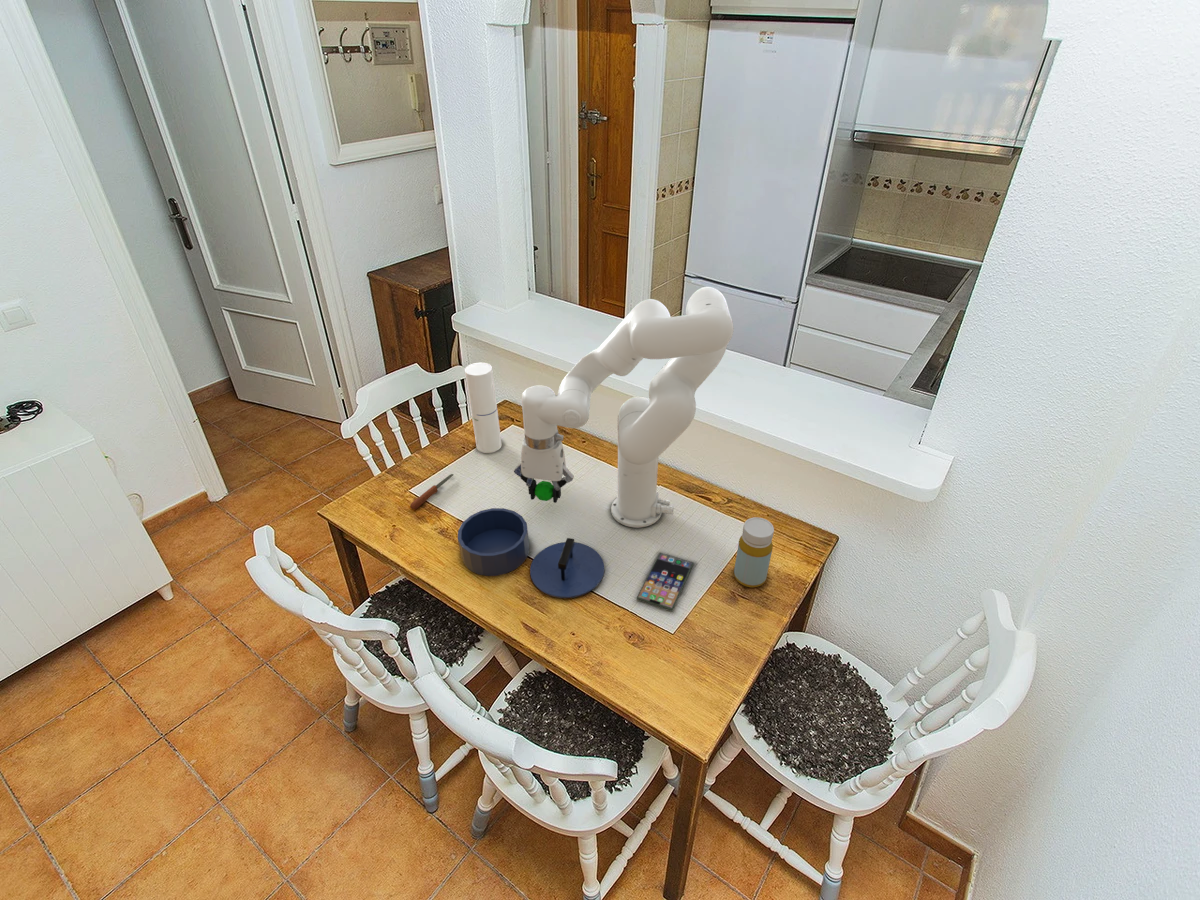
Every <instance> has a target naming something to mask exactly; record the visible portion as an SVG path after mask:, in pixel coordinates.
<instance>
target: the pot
mask: <svg viewBox="0 0 1200 900" xmlns="http://www.w3.org/2000/svg"><path fill="white" fill-rule="evenodd" d="M529 540H530V539H529V530H528V523H527V522H526V520H525V518H524V517H523V515H521V514H520V513H518V512H516V511H515V510H512V509H508V508H503V507H500V508H499V507H493V508H487V509H483V510H479V511H477V512H475V513H473V514H471V515H469V516H468V518H466V519H465V520H463V522H462V523H461V525H460V526H459V529H458V530H457V542H458V548H459V553H460V558H461V560H462V563H463V565H464V566H465V567H466V568H467V569H468V570H469V571H470V572H472V573H475V574H476V575H480V576H485V577H497V576H501V575H505V574H509V573H511V572H513V571H515V570H516V569H518V568H519V567H521V566H522V565H523V564H524V562H525V561H526V560H527V558H528V556H529V553H530V541H529Z"/></svg>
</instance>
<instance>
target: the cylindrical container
mask: <svg viewBox="0 0 1200 900" xmlns="http://www.w3.org/2000/svg"><path fill="white" fill-rule="evenodd" d="M464 374H465V380H466V388H467V395H468V401H469V406H470V414H471V420H472V426H473V432H474V433H473V434H474V440H475V446H476V450H477V451H478V452H480V453H484V454H491V453H496V452H498V451H499V450H500V449H501V448H502V437H501V436H502V435H501V429H500V428H501V427H500V421H499V419H500V418H499V411H498V403H497V397H496V395H497V394H496V388H495V387H496V386H495V380H494V372H493V367H492V365H491V364H490V363H487V362H481V361H479V362H473V363H470V364H468V365H466V366H465V367H464Z"/></svg>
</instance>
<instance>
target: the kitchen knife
mask: <svg viewBox="0 0 1200 900" xmlns="http://www.w3.org/2000/svg"><path fill="white" fill-rule="evenodd" d="M452 477H454V474H453V473H450V474H449V475H447V476H446V477H445V478H443V480H441V481H440V482H438V483H437V484H436V485H435V484H434V485H432V486H431V487H430V488H428V489H427V490H426V491H425V492H423V493H422V494H420V496H418V497H417V498H416V499H415V500H414V501H412V502H411V503H410V504H409V508H410V509H412V510H417V509H419V508H420V507H421V506H422V505H423V504H424V503H425V502H427V500H429V499H430V498H431V497H432V496H434V495H435V494H437V493H438V489H439V488H440V487H443V485H444V484H445V483H447V481H449V480H450V479H451V478H452Z"/></svg>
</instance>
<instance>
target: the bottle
mask: <svg viewBox="0 0 1200 900" xmlns="http://www.w3.org/2000/svg"><path fill="white" fill-rule="evenodd" d="M774 533H775V528H774V525H773V523H772V522H770V520H768V519H765V518H763V517H757V516H756V517H755V516H754V517H750V518H747V520H745V521H744V523H743V527H742V532H741V536H740V537H739V540H738V543H737V549H736V557H735V562H734V563H735V564H734V569H733V576H734V579H735V580H736V581H737V582H738V583H739V584H740V585H742V586H744V587H746V588H757V587H761V586H762V585H764V584H765V582H766V580H767V577H768V571H769V567H770V563H771V558H772V553H773V548H774V547H773V546H774V544H773V537H774Z"/></svg>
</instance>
